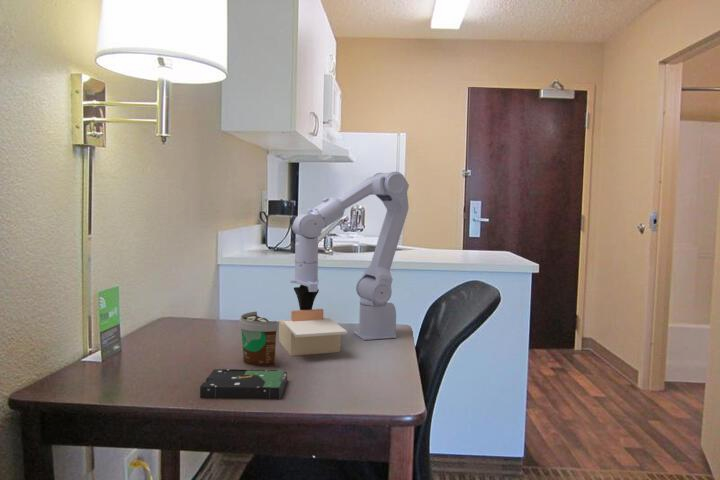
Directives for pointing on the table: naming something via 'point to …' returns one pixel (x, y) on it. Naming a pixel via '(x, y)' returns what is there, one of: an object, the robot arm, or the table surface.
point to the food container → (258, 339)
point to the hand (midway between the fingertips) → (305, 315)
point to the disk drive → (244, 384)
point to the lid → (312, 324)
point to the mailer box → (307, 342)
